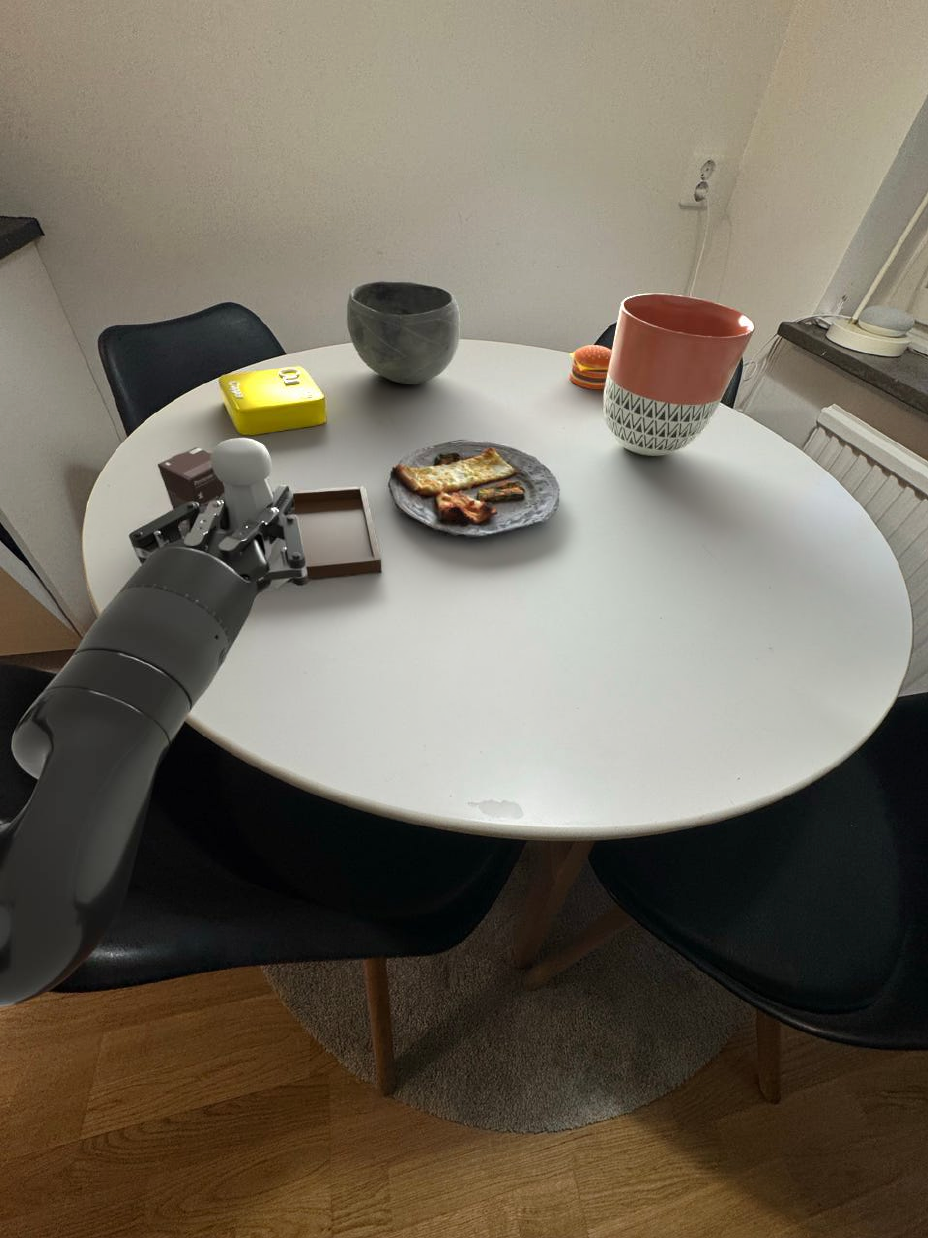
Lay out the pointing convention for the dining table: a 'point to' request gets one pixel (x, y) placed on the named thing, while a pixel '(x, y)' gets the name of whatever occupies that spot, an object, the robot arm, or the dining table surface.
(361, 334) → the bowl
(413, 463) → the food plate
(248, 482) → the salt shaker
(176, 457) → the box
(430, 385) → the dining table surface
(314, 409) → the element tile
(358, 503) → the tray
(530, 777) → the dining table surface
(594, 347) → the hamburger
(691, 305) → the planter
